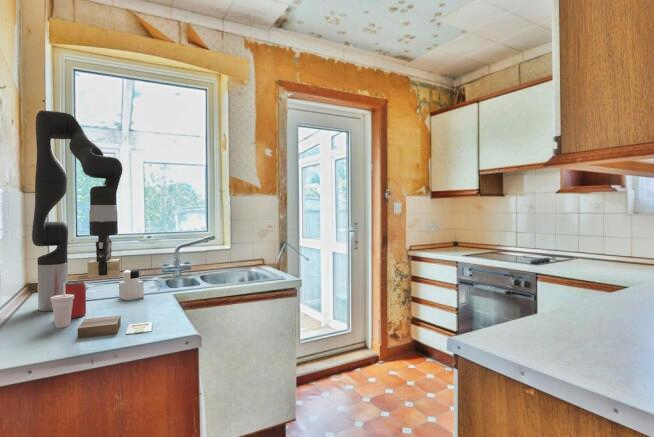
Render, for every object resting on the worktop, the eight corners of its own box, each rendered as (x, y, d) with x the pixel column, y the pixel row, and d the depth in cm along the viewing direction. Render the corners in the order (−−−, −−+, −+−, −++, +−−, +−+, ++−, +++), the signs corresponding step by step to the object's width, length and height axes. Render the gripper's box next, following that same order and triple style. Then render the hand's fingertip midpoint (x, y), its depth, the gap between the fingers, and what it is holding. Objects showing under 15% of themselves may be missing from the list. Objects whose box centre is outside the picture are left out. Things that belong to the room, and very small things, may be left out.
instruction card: (128, 325, 119) (128, 324, 119) (152, 322, 122) (152, 321, 122) (125, 334, 109) (125, 333, 109) (151, 331, 112) (151, 330, 112)
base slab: (84, 328, 116) (84, 319, 116) (120, 324, 120) (120, 315, 120) (77, 338, 106) (77, 328, 106) (116, 333, 110) (116, 323, 110)
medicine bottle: (135, 295, 162) (135, 268, 162) (144, 297, 158) (143, 269, 158) (118, 298, 156) (118, 270, 156) (127, 300, 152) (126, 272, 152)
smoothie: (78, 325, 119) (78, 282, 119) (55, 330, 114) (55, 285, 114) (69, 321, 123) (68, 280, 122) (46, 327, 117) (46, 283, 117)
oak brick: (91, 276, 115) (90, 260, 115) (120, 274, 118) (119, 258, 118) (87, 279, 110) (87, 262, 110) (118, 277, 113) (118, 261, 113)
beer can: (74, 319, 126) (74, 284, 126) (58, 318, 127) (58, 283, 127) (90, 314, 132) (90, 281, 132) (75, 313, 134) (74, 280, 133)
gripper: (93, 219, 119) (93, 271, 119) (85, 220, 106) (86, 278, 106) (119, 219, 122) (120, 269, 122) (115, 220, 109) (115, 276, 109)
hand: (104, 273), depth 114 cm, fingers closed on oak brick, 6 cm apart
